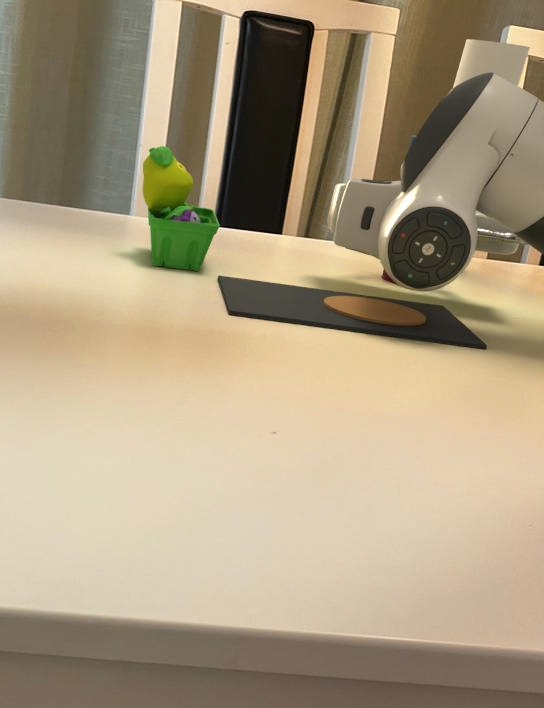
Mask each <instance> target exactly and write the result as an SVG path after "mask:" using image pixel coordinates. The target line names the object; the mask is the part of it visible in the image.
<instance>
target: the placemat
mask: <svg viewBox="0 0 544 708" xmlns="http://www.w3.org/2000/svg"><path fill="white" fill-rule="evenodd" d="M217 281H218V284H219V288H220V290H221V295H222V297H223V301H224V303H225V306H226V310H227V313H228V315H230V316H238V317H243V318H245V317H246V318H250V319H251V318H252V319H258V320H266V321H274V322H282V323H290V324H295V325H296V324H297V325H302V326H303V325H304V326H310V327H318V328H325V329H326V328H327V329H334V330H340V331H349V332H355V333H364V334H371V335H377V336H378V335H379V336H384V337H393V338H400V339H408V340H414V341H415V340H416V341H421V342H430V343H436V344H444V345H453V346H459V347H467V348H473V349H482V350H487V348H488V344H487V343H486V342H485V341H484V340H482V339H481V338H480V337H479V336H478V335H477V334H476V333H475V332H474V331H473V330H471V329H470V328H469V327H468V326H467V325H465V323H463V322H462V321H461V320H460V319H459V318H458V317H457V316H455V314H453V313H452V312H451V311H450V310H449V309H447V308H446V307H445V306H444V305H440V304H433V303H425V302H419V301H411V300H405V299H397V298H388V297H381V296H375V295H366V294H359V293H352V292H345V291H337V290H329V289H324V288H315V287H308V286H301V285H294V284H293V285H292V284H285V283H280V282H279V283H278V282H271V281H263V280H256V279H249V278H242V277H233V276H227V275H218V276H217Z"/></svg>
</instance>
